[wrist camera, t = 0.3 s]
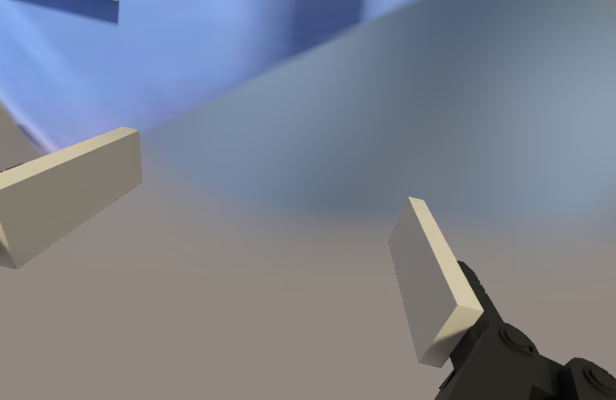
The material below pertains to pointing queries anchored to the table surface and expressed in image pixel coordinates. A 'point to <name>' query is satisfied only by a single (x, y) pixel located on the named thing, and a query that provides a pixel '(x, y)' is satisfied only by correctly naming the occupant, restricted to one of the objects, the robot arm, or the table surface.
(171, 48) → the table surface
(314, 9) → the table surface
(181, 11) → the table surface
